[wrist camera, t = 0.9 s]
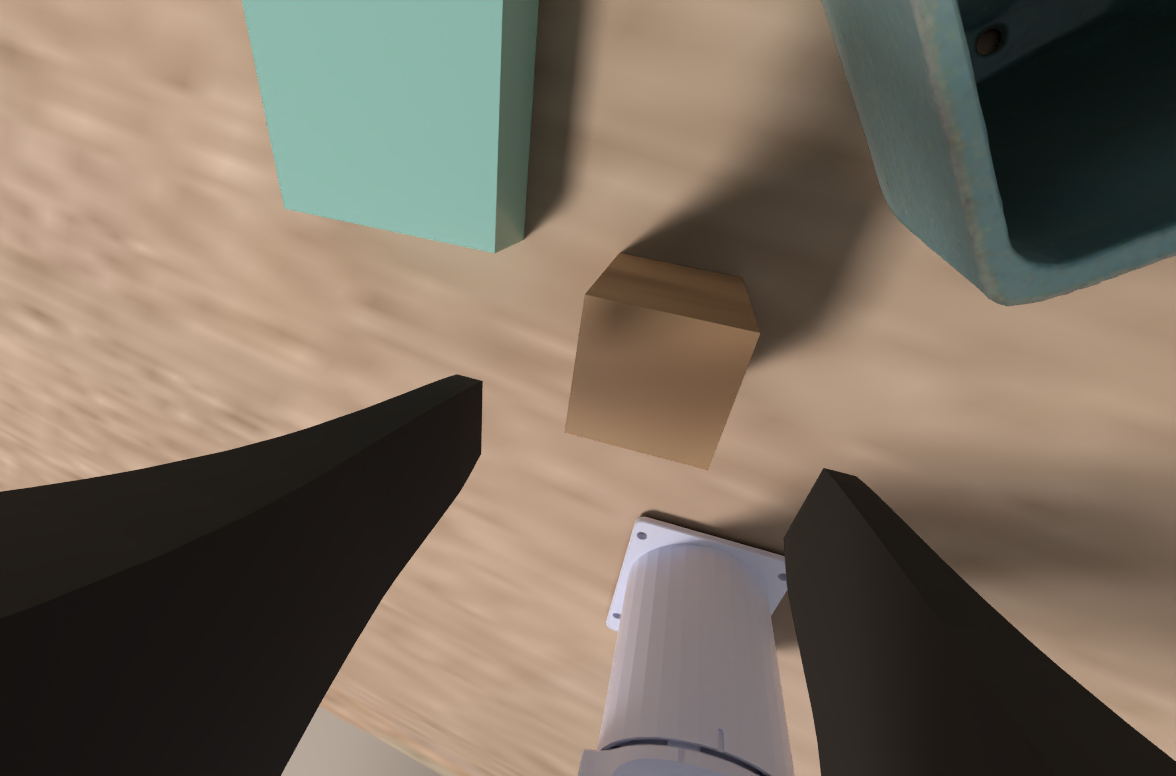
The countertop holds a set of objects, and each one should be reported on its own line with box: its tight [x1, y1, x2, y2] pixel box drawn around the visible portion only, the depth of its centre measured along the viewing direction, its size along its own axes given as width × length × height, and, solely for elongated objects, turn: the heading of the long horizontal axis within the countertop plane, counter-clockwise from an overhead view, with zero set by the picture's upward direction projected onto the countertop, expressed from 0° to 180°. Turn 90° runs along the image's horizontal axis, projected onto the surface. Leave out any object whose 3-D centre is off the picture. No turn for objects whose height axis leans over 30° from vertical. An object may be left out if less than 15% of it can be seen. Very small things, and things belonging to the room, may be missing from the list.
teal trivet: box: [242, 0, 539, 253], centre depth 14 cm, size 8×8×3 cm
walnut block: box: [565, 253, 760, 470], centre depth 14 cm, size 4×4×6 cm
